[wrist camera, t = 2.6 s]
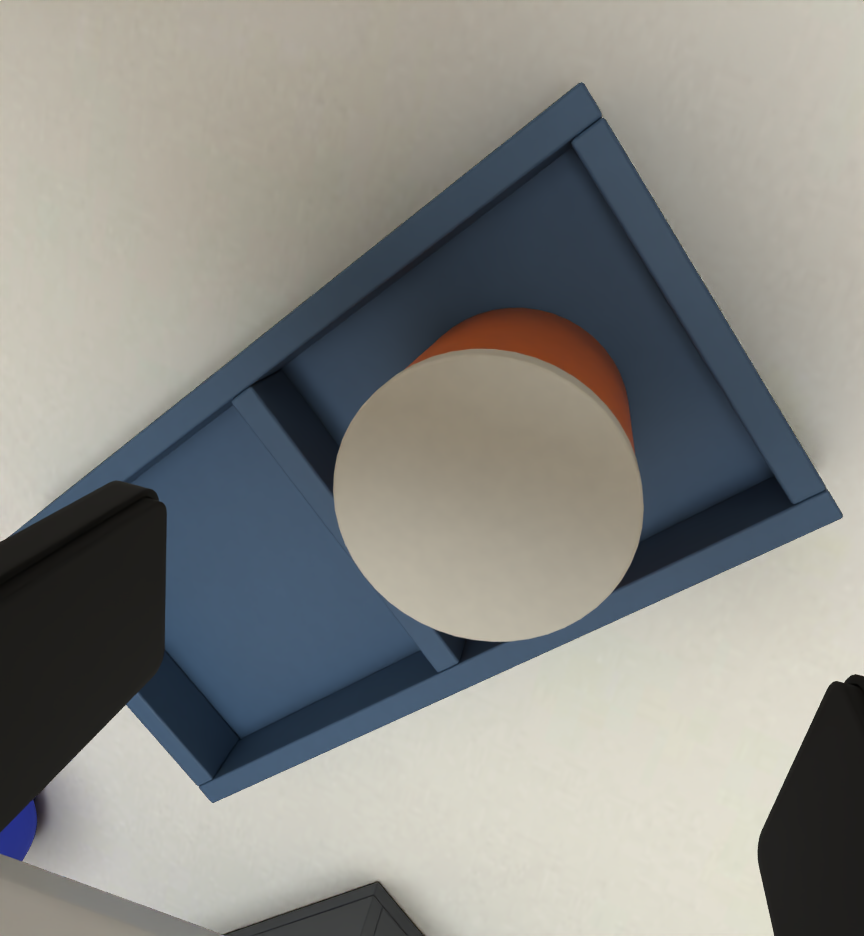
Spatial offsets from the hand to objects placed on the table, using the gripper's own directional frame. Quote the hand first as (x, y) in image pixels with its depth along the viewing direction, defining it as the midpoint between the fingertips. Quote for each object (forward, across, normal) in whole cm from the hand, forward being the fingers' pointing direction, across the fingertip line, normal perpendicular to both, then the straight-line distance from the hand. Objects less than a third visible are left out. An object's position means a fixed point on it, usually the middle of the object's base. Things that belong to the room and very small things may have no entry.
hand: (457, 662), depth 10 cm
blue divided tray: (+11, +4, +3) cm, 12 cm away
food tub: (+10, +1, 0) cm, 10 cm away
